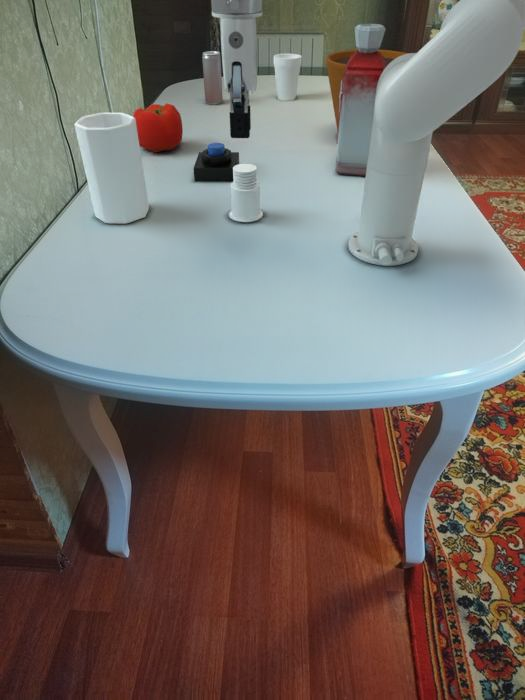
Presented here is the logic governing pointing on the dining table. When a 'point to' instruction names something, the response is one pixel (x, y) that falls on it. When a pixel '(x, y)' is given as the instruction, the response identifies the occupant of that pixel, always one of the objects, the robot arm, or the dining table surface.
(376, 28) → the bottle
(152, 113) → the tomato
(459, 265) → the dining table surface
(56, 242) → the dining table surface
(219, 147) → the button
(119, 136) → the cup
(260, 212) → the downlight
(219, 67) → the beverage can
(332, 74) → the flower pot
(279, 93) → the foam cup
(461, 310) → the dining table surface
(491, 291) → the dining table surface
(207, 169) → the base
